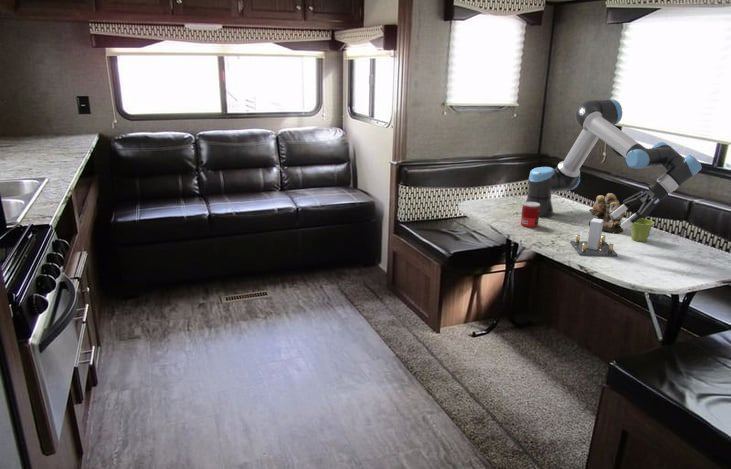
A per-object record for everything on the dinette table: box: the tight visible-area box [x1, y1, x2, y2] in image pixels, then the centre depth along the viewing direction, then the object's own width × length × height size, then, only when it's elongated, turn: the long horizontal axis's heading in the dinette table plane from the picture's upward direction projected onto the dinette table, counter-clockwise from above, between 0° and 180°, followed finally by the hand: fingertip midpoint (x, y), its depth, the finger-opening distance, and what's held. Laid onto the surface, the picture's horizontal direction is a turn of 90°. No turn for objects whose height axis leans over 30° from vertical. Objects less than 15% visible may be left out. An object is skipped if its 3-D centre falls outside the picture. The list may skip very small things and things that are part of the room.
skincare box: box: [587, 217, 604, 250], centre depth 225 cm, size 6×4×12 cm
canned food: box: [520, 201, 540, 229], centre depth 257 cm, size 8×8×11 cm
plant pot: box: [631, 218, 655, 243], centre depth 238 cm, size 9×9×9 cm
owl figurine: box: [588, 192, 625, 234], centre depth 252 cm, size 18×12×17 cm, turn 30°
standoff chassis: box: [569, 234, 618, 258], centre depth 227 cm, size 15×15×4 cm
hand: (617, 221), depth 222 cm, fingers open, 13 cm apart
